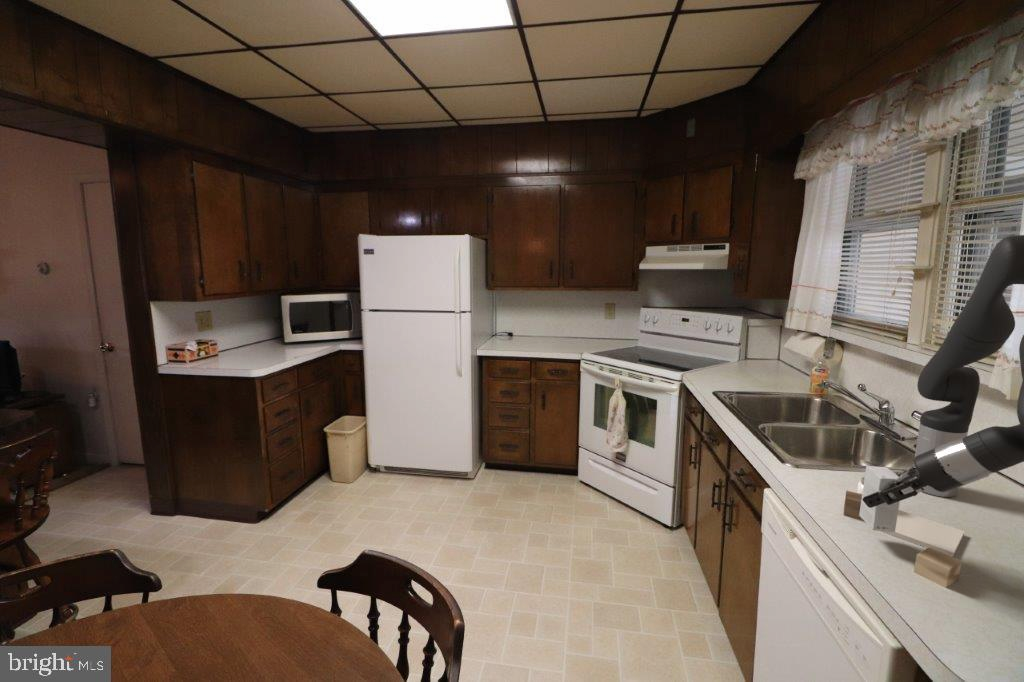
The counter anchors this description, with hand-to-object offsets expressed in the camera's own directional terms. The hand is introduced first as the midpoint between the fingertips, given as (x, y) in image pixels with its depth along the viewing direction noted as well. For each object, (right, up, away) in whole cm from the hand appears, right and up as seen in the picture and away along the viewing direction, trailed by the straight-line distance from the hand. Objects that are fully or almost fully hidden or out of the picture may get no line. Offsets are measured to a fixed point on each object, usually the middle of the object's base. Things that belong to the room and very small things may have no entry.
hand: (871, 496), depth 102 cm
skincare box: (+1, -6, 0) cm, 6 cm away
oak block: (+5, -12, -10) cm, 16 cm away
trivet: (+14, -9, +3) cm, 17 cm away
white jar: (+10, -7, +14) cm, 19 cm away
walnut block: (+5, -8, +11) cm, 15 cm away
